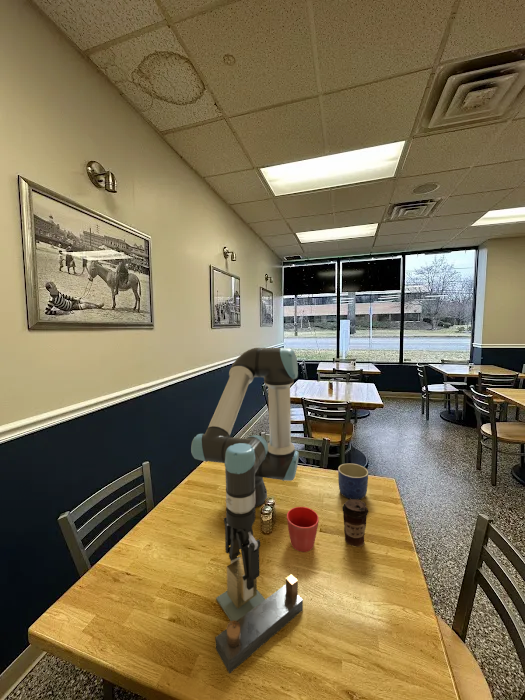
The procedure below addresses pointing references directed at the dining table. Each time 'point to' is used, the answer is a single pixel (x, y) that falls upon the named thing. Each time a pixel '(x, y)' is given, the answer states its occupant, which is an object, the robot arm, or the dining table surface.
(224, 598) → the mat
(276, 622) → the plane body
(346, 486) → the planter
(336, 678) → the dining table surface
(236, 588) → the tan wooden block
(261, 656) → the dining table surface
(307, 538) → the flower pot
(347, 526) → the coffee cup
